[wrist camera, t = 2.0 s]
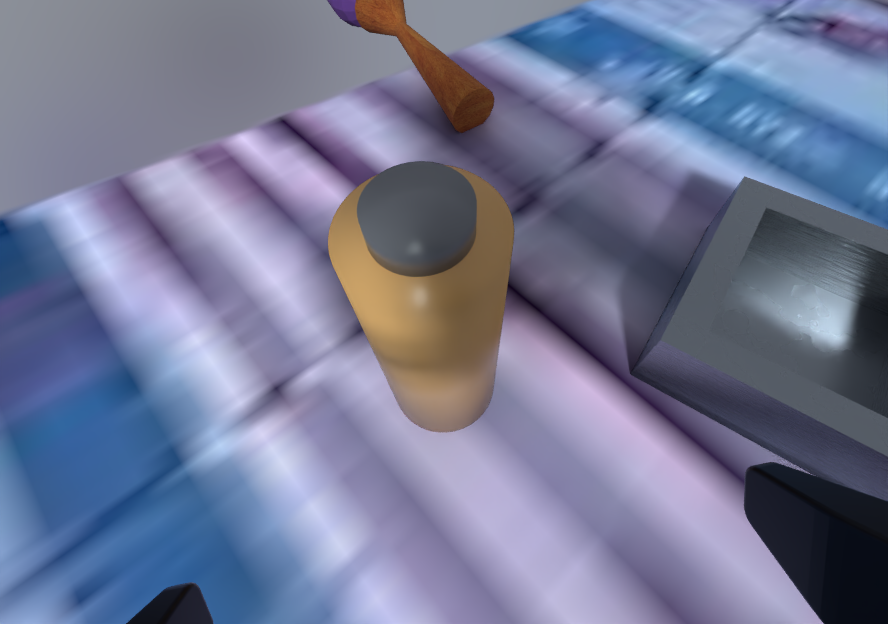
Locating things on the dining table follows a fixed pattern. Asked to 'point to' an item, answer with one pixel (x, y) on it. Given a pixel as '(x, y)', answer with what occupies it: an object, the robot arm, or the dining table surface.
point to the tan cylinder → (428, 285)
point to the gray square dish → (784, 334)
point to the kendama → (423, 60)
